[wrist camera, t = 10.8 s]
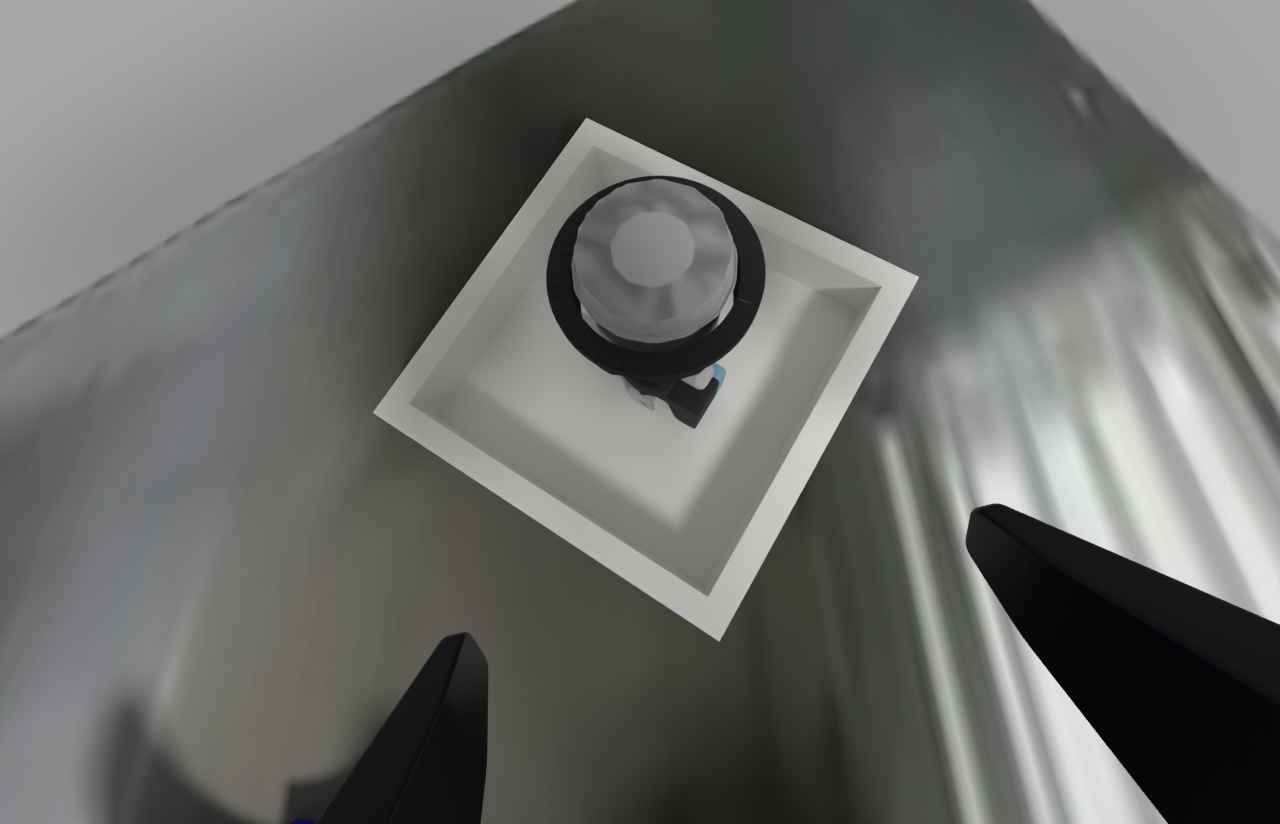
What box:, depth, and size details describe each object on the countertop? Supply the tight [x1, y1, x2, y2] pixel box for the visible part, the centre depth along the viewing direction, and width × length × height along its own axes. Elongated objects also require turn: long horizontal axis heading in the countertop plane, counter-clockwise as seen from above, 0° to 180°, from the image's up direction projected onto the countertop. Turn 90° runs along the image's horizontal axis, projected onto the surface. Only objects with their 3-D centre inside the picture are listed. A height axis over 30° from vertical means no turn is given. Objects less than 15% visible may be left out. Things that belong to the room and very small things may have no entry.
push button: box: [546, 176, 766, 429], centre depth 16 cm, size 7×5×10 cm
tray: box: [373, 118, 919, 641], centre depth 20 cm, size 15×15×3 cm
